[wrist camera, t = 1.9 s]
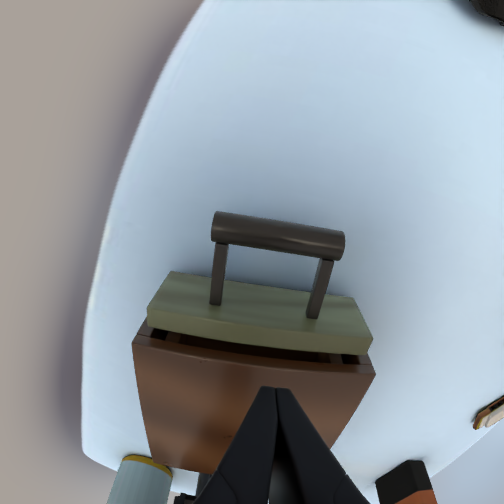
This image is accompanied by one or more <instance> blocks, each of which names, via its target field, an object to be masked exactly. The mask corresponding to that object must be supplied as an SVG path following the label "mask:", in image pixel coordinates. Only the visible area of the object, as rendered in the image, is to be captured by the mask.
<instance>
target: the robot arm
mask: <svg viewBox="0 0 504 504" xmlns="http://www.w3.org/2000/svg"><path fill="white" fill-rule="evenodd" d="M345 474H346V472H345V471H344V469H343V468H342V466H341V465H340V463H339V462H338V461H337V459H336V458H335V456H334V455H333V453H332V452H331V450H330V449H329V447H328V446H327V445H326V443H325V442H324V440H323V439H322V437H321V436H320V434H319V433H318V431H317V430H316V428H315V427H314V425H313V424H312V422H311V421H310V419H309V418H308V416H307V415H306V413H305V412H304V410H303V409H302V407H301V405H300V404H299V402H298V401H297V399H296V398H295V396H294V395H293V393H292V392H291V390H290V389H289V388H281V387H276V388H274V387H271V386H261V387H260V389H259V391H258V393H257V395H256V397H255V398H254V400H253V402H252V404H251V406H250V408H249V410H248V412H247V414H246V416H245V418H244V419H243V421H242V423H241V425H240V427H239V429H238V431H237V432H236V434H235V436H234V438H233V440H232V442H231V443H230V445H229V447H228V449H227V450H226V452H225V454H224V456H223V458H222V459H221V461H220V463H219V464H218V466H217V468H216V470H215V471H214V473H213V474H206V473H200V472H199V477H198V483H197V489H196V495H195V496H192V495H187V494H185V493H181V495H180V496H175V499H174V504H268V498H269V504H370V503H369V502H368V501H367V499H366V498H365V497H364V496H363V495H362V494H361V492H360V491H359V490H358V488H357V487H356V486H355V485H354V483H353V482H352V480H351V479H350V478H349V476H348V475H347V474H346V475H345Z"/></svg>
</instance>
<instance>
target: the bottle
mask: <svg viewBox="0 0 504 504" xmlns="http://www.w3.org/2000/svg"><path fill="white" fill-rule="evenodd" d="M172 477H173V476H172V473H171V472H170V470H169V469H168V468H167V467H166V466H165V465H161V464H157V463H154V462H153V460H152V459H151V458H148V457H144V456H139V455H130V456H127V457H125V458H123V459H122V462H121V464H120V467H119V470H118V472H117V475H116V478H115V481H114V484H113V487H112V489H111V492H110V495H109V499H108V501H107V504H167V500H168V496H169V492H170V487H171V483H172Z"/></svg>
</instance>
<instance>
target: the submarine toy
mask: <svg viewBox="0 0 504 504" xmlns="http://www.w3.org/2000/svg"><path fill="white" fill-rule="evenodd" d="M469 1H471V2H472V4H473V6H474V8H475V10H476V11H477V12H478V13H479V14H482V15H485V16H488V17H491V18H494V19H496V20H498V21H500V25H501V26H504V0H469Z"/></svg>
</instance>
